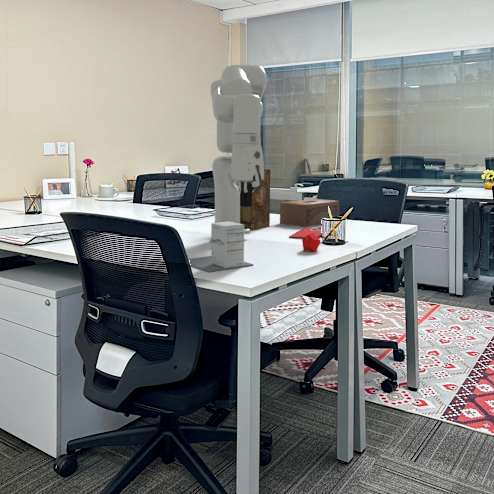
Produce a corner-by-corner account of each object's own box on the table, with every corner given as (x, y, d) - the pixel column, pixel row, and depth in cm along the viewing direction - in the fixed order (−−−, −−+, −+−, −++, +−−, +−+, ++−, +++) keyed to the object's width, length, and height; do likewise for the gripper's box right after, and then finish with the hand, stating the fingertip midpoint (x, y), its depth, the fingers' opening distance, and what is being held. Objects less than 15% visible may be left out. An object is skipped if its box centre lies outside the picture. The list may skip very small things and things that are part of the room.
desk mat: (220, 255, 189) (220, 254, 189) (253, 265, 175) (253, 264, 175) (177, 261, 180) (177, 260, 180) (209, 272, 165) (209, 270, 165)
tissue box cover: (304, 227, 255) (304, 205, 253) (279, 224, 265) (280, 202, 263) (338, 222, 273) (339, 201, 271) (314, 219, 283) (315, 198, 281)
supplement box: (210, 264, 174) (210, 222, 172) (230, 261, 179) (230, 220, 176) (224, 268, 169) (224, 225, 166) (244, 265, 173) (245, 223, 171)
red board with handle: (342, 229, 248) (308, 228, 253) (342, 223, 247) (308, 222, 252) (326, 242, 220) (288, 240, 225) (326, 234, 220) (288, 233, 225)
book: (260, 225, 259) (261, 169, 255) (271, 226, 256) (271, 169, 252) (240, 229, 246) (240, 170, 241) (250, 230, 243) (251, 170, 238)
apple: (309, 232, 204) (300, 227, 197) (326, 238, 201) (317, 233, 194) (302, 250, 204) (293, 246, 197) (319, 256, 200) (310, 252, 194)
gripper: (274, 140, 156) (273, 208, 159) (241, 140, 168) (241, 203, 171) (252, 140, 152) (251, 209, 155) (220, 140, 163) (220, 204, 167)
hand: (246, 206), depth 163 cm, fingers closed
